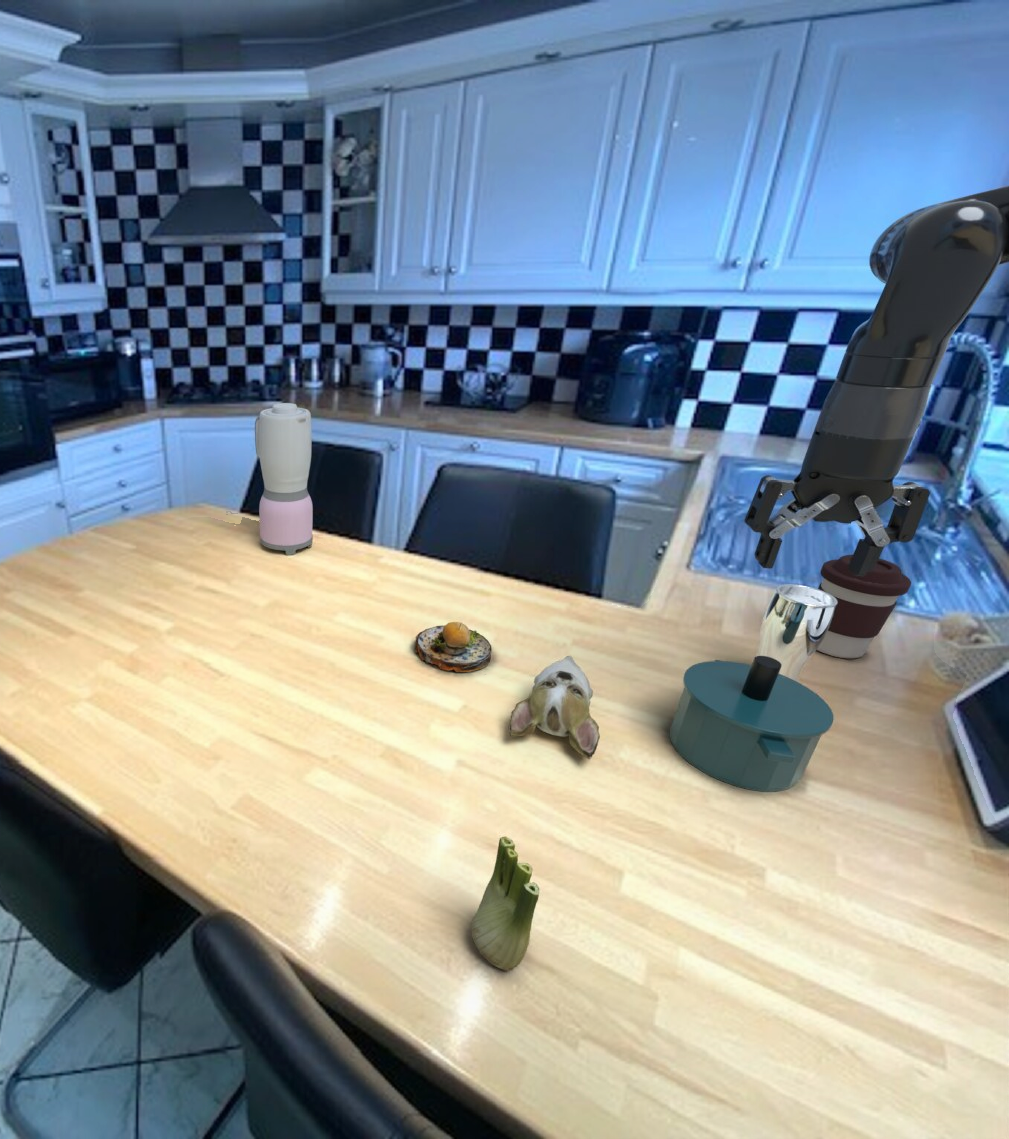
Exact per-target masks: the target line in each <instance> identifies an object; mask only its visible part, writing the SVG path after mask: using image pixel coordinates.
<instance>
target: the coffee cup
mask: <svg viewBox="0 0 1009 1139" xmlns="http://www.w3.org/2000/svg"><path fill="white" fill-rule="evenodd" d="M852 556H853V554H844V555H841V556H840V557H839V558H838V559H830V560H827V561H825V562H824V563H823V564H822V566H821V569H820V576H821V577H822V582H821V583H820V584H818V588H817V589H819V590H822V591H824V592H827V593H829V594H830V595H832V596H834V597H835V598H836V599H837V601H838V603H837V605H836V608H835V611H834V615H833V618H832V621H831V624H830V627H829V629H828V631H827V633H826V635H825V637H824V639H823V641H822V642H821V644H820V645H819V647H818V648H817V649H816V651H818V652H820V653H823V654H825V655H828V656H832V657H836V658H840V659H858V658H861V657H863V656H864V655H865V654H866V652H867V650H868V649H869V647H870V645H871V644H872V642H873V640H874V639H875V637H877V636H879V634H880V633H881V630H882V629H883V627H884V626H885V624H886V623H887V621H888V619H889V617H890V615H891V614H892V612H893V610H894V609H895V607H896V606H897V603H898V602H897V600H898V598H899V597H900V596H903V595H906V594H907V593H908V592H909V590H910V588H911V585H912V581H911V579H910V578H909V577H908V576H907V575H905V574H904V573H902V569H901V567H900V566H899V565H898V564H895V563H893V562H892V561H890V560H886V559H883V558H881V557H879V559H878V562H877V564H876V566H875V568H874V569H873V570H872V571H871V572H867V574H866V576H855V575H854V574H853V573H852V572H850V571H849V569H848V566H849V563H850V561H851V559H852Z"/></svg>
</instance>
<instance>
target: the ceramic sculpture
mask: <svg viewBox="0 0 1009 1139" xmlns="http://www.w3.org/2000/svg"><path fill="white" fill-rule="evenodd" d="M573 658H574V657H572V655H567V656H566V657H564V658H562V659H560V660H558V661H555V662H553V663H551V664H550V665H548V666H546V667H544V669H543V670H541V672H540V673H538V674H537V675H536V676H535V677H534V679H533V683H534V685H533V686H532V690H531V693H530V694H529V697H527V699H524V700H520V701H519V702H517V703H516V704H515V706H514V709H512V710H511V713H510V719H509V728H508V729H509V735H510V736H511V737H513V738H514V737H522V736H527V735H531V734H533V733H534V732H535V731H536V727H537V728H538V729H539V730H541V732H544V733H547V734H550V735H552V736H557V737H569V739H568V740H569V744H570V746H571V747H572V748H573V749H574V750H575V751H577V752H578V753H579V754H580V755H582V756H583V757H584V758H586V759H587V760H591V759H592V757H593V755H595V753H596V750H597V747H598V745H599V742H600V738H601V735H600V732H599V728H600V727H599V725H598V723H597V722H596V720H595V719H594V718H593V717H592V716H591V712H590V706H591V699H592V698H593V696H594V690H593V689H592V687H591V684H590V681H589V679H588V677H587V675H586V674H585V672H584V671H583V669H582V668H581V667H580V666H579V665H578V664H577V662H575V660H574V659H573Z"/></svg>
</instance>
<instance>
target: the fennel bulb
mask: <svg viewBox="0 0 1009 1139" xmlns="http://www.w3.org/2000/svg"><path fill="white" fill-rule="evenodd" d="M515 849H516V844H515V843H514V841H513V839H511V838H509V837H508V836H502V837H499V841H498V846H497V852H496V859H495V863H494V867H493V868H494V869H493V872H492V874H491V878H490V879H489V881H488V883H487V885H486V888H485V890H484V892H483V895H482V898H481V900H480V903H479V905H478V908H477V911H476V912H475V914H474V916H473V918H472V920H471V928H470V929H471V937H472V939H473V943H474V945H475V947H476V948H477V950H478V952H479V953H480V954H481V956H482V957H483V958H484V959H486V960H487V962H488V963H490V964H491V965H492V966H494V967H496V968H498V969H501V970H504V971H506V972H511V971H513V970H514V969H516V968H517V967H518V966H519V965H520V964H521V963H522V962H523V960H524V958H525V956H526V953H527V950H528V948H529V945H530V940H531V932H532V931H531V930H532V924H533V918H534V914H535V909H536V906H537V904H538V901H539V896H540V887H539V886H538V884H537V883H536V882H535V881H534V882H532V881H531V878H532V876H533V867H532V866H531V865H530V864H529V863H528V862H523V861H522V862H519V854H518V852H517V851H516V850H515Z"/></svg>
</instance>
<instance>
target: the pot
mask: <svg viewBox="0 0 1009 1139" xmlns="http://www.w3.org/2000/svg"><path fill="white" fill-rule="evenodd" d="M714 661H722V660H720V659H715V660H714ZM821 737H822V735H820V736H816V737H812V738H799V739H796V738H783V737H776V736H771V735H766V734H762V733H758V732H754V731H751V730H748V729H745V728H742V727H740V726H737V725H734V724H732V723H730V722H727V721H725V720H723V719H721V718H719V717H717V716H716V715H714V714H712V713H710V712H709V711H707V710H706V709H704V708H703V707H702V706H700V705H699V704H698V703H697V702H696V701H694V700H693V699H692V698H691V696H690V695H689V694H688V693H687V691H686V689H685V687H684V686H683V690H682V693H681V696H680V699H679V702H678V705H677V708H676V711H675V714H674V717H673V720H672V723H671V726H670V730H669V739H670V741H671V743H672V746H673V748H674V749H675V751H676V752H677V753H678V754H679V755H680V756H681V757H682V758H683V759H684V760H685V761H686V762H687V763H689V764H690V765H692V766H693V767H694V768H696V769H697V770H699V771H700V772H702V773H704V774H705V775H708V776H709V777H712V778H714V779H716V780H717V781H720V782H723V783H725V784H728V785H731V786H734V787H737V788H741V789H746V790H750V791H756V792H767V793H769V792H770V793H771V792H774V793H775V792H782V791H786V790H789V789H791V788H793V787H794V786H795V785H797V784H798V783H799V781H800V780H802V778H803V776H804V774H805V771H806V770H807V767H808V765H809V763H810V761H811V759H812V757H813V754H814V752H815V750H816V747H817V746H818V743H819V741H820V739H821Z"/></svg>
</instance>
